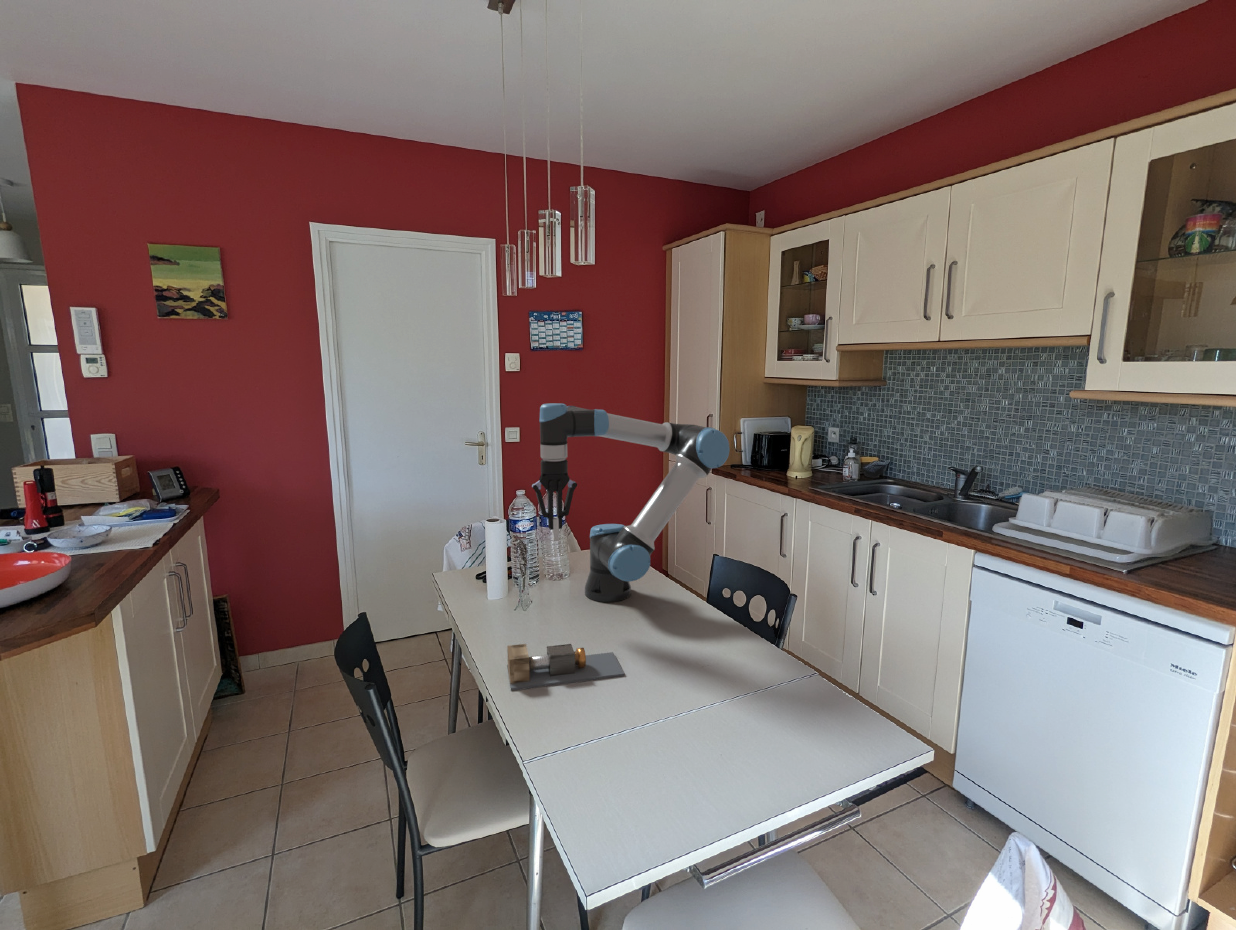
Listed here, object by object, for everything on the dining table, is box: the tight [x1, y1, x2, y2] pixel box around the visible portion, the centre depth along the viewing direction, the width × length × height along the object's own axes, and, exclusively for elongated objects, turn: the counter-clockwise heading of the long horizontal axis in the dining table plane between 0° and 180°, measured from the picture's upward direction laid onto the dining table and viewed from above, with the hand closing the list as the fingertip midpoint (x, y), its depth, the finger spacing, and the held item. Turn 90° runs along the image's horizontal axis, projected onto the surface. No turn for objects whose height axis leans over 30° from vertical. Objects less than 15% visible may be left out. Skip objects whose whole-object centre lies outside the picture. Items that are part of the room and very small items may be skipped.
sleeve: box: [546, 643, 575, 677], centre depth 143 cm, size 6×5×5 cm
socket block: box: [506, 643, 530, 685], centre depth 140 cm, size 4×7×6 cm, turn 15°
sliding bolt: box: [529, 647, 587, 671], centre depth 142 cm, size 16×5×5 cm, turn 105°
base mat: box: [506, 651, 625, 691], centre depth 143 cm, size 27×11×1 cm, turn 105°
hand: (555, 539), depth 169 cm, fingers closed
